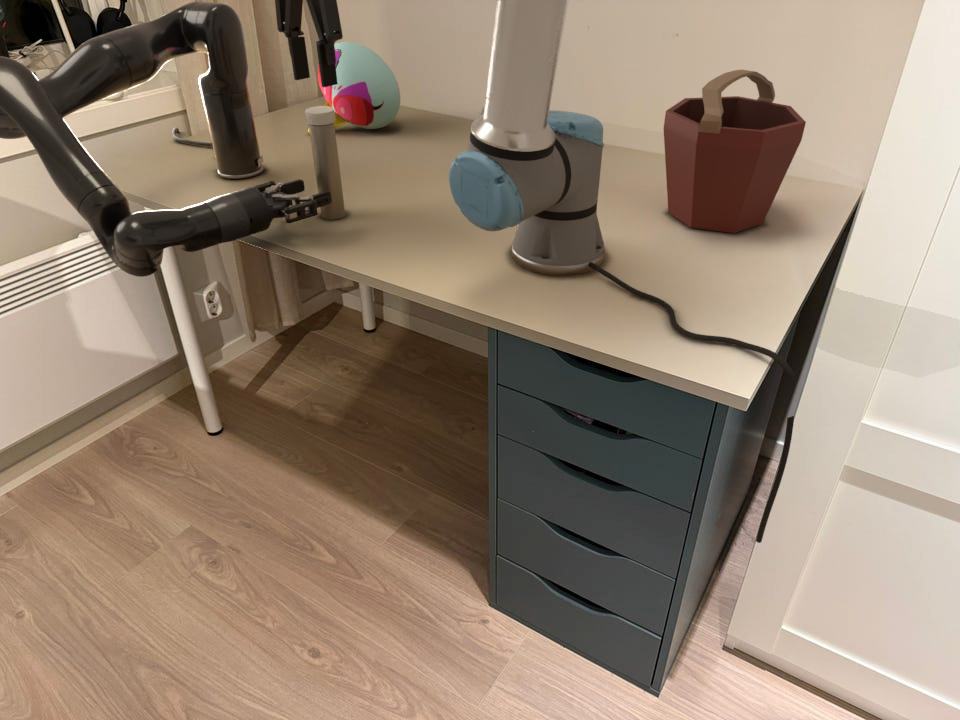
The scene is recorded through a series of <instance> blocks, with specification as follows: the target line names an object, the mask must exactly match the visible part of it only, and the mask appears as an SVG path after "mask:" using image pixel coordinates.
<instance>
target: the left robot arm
mask: <svg viewBox="0 0 960 720" xmlns="http://www.w3.org/2000/svg"><path fill="white" fill-rule="evenodd" d="M239 17H240V16H239V15H238V14H237V12H236V11H235V10H234V8H233V7H231V6H229V5H228V4H225V3H220V2H214V1H213V2H212V1H200V0H197V1H196V0H195V1H191V2H188V3H185V4H184V5H182V6H179V7H178V8H175V9H173V10H171V11H170V12H168V13H166V14H163V15H162V16H160V17H158V18H156V19H152V20H150V21H146V22H141V23H137V24H133V25H130V26H126V27H123V28H119V29H115V30H112V31H109V32H106V33H103V34H100V35H97V36H95V37H91V38H90V39H88V40H86V41H84V42H83V43H81V44H80V45H79V46H77V48H76V49H74V50H73V51H72V52H71V53H70V54H69V55H68V56H67V57H66V58H65V59H64V60H63V61H62V62H61V63H60V64H59V65H58V66H57V67H56V68H54V69H53V71H52V72H50V73H49V74H47V75H45V76H44V77H42V78H40V79H39V78H38V77H37V76H36V74H34V72H33V70H31V69H30V68H28V67H27V65H25V64H23V63H22V62H20V61H17V60H16V59H14V58H11V57H7V56H2V55H0V139H5V140H17V139H23V138H27V139H28V141H29V142H30V144H31V145H32V147H33V149H34V150H35V152H36V153H37V155H38V157H39V159H40V160H41V163H42V164H43V166H44V168H45V170H46V172H47V173H48V175H49V177H50V178H51V180H52V182H53V183H54V185H55V186H56V188H57V190H59V192H60V193H61V194H62V196H63V197H64V199H66V201H67V202H68V203H69V205H71V206H72V207H73V208H74V209H75V211H76V212H77V213H78V214H79V215H80V217H81V218H83V219H84V220H85V221H86V222H87V224H88V226H89V227H90V228H91V230H92V232H93V234H94V236H95V237H96V238H97V240H98V242H99V244H100V245H101V247H102V248H103V249H104V251H105V253H106V254H107V256H108V257H109V258H110V260H111V261H112V262H113V263H114V264H115V265H116V266H117V268H119V269H120V270H121V271H123V272H124V273H126V274H128V275H131V276H134V277H139V278H140V277H141V278H142V277H148V276H151V275H153V274H155V273H156V272H157V271H158V270H159V269H160V267H161V265H162V262H163V258H164V250H165V249H167V248H170V247H176V246H178V247H179V248H180V249H181V250H182V251H184V252H187V253H193V252H198V251H202V250H205V249H208V248H211V247H214V246H217V245H220V244H224V243H230V242H233V241H234V242H235V241H237V240H240V239H243V238H245V237H249V236H252V235H255V234H258V233H261V232H264V231H267V230H268V229H269V228H270V227H271V224H272V222H273V220H274V219H283V218H284V219H285V223H286V224H294V223H297V222H300V221H304V220H307V219H310V218H312V217H317V216H318V215H319V211H318V209H319V208H320V207H322V206H325V205H328V204H331V202H332V199H331V193H330V192H328V191H325V192H322V193H318V192H317V193H316V194H312V195H310V196H300V195H299V193H304V191H305V189H306V188H305V182H304V180H303V179H300V178H298V179H295V180H292V181H288V182H278V183H276V181H274V180H270V181H267V182H264V183H260V184H257V185H254V186H251V187H246V188H243V189H239V190H235V191H232V192H229V193H225V194H222V195H217V196H215V197H212V198H210V199H208V200H205V201H203V202H200V203H197V204H192V205H190V206H186V207H183V208H180V209H155V210H151V209H150V210H140V211H136V212H132V211H131V207H130V203H129V200H128V199H127V196H126V195H125V194H124V192H123V191H122V190H121V188H120V187H118V185H117V184H116V183H115V182H114V181H113V180H112V178H111V177H110V176H109V175H108V174H107V173H106V172H105V171H104V170H103V168H102V167H101V166H100V165H99V164H98V163H97V162H96V161H95V159H94V158H93V157H92V156H91V154H90V153H89V152H88V151H87V149H86V148H85V147H84V146H83V144H82V143H81V142H80V140H79V139H78V138H77V136H76V135H75V134H74V132H73V131H72V129H71V128H70V126H69V125H68V123H67V122H66V120H65V119H64V118H65V117H67V116H69V115H71V114H73V113H74V112H77V111H79V110H81V109H84V108H86V107H89V106H90V105H93V104H95V103H98V102H100V101H102V100H105V99H107V98H109V97H111V96H114V95H116V94H120V93H122V92H126V91H128V90H131V89H133V88H136V87H137V86H141V85H142V84H145V83H146V82H148V81H150V80H152V79H153V78H154V77H155V76H156V75H157V74H158V73H159V71H160V70H161V69H162V68H163V66H164V65H165V64H167V63H168V62H169V61H172V60H174V59H176V58H180V57H183V56H186V55H191V54H200V53H201V54H207V56H208V66H209V68H208V70H207V71H206V72H204V73H202V74H200V75H199V77H198V85H199V91H200V94H201V99H202V104H203V108H204V112H205V116H206V117H205V118H206V122H207V126H208V131H209V135H210V140H211V142H210V141H209V142H207V141H198V140H194V139H187V138H181V137H178V136H177V134H178V133H180V130H179V128H178V127H176V126H175V127H174V128H172V131H171V136H172V139H174V141H176V142H179V143H183V144H184V143H185V144H191V145H195V146H203V147H212V148H213V152H214V158H215V162H216V167H217V174H218V176H219V177H221V178H223V179H224V178H225V179H229V180H231V179H232V180H234V179H236V180H237V179H238V180H239V179H246V178H252V177H254V176H257V175H260V174H261V173H262V172H263V171H264V165H263V163H264V161H265V160H264V157H263V156H264V155H261V151H260V146H259V141H258V135H257V131H256V125H255V120H254V114H253V109H252V103H251V97H250V93H249V92H250V91H249V87H248V82H247V81H248V75H249V65H248V64H249V63H248V56H247V49H246V41H245V34H244V29H243V25H242V22H241V20H240V18H239ZM293 202H294V203H293Z"/></svg>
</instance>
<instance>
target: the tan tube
mask: <svg viewBox="0 0 960 720" xmlns="http://www.w3.org/2000/svg"><path fill="white" fill-rule="evenodd" d="M307 124H308V123H307ZM308 130H309V132H310V133H309V132H308V133H309V138H310V146H311V152H312V159H313V166H314V167H313V168H314V172H315V173H314V174H315V182H316V188H317V194H318V193H322V192H325V191H328V192H330V193H331V199H332V202H331V204H328V205H325V206H322V207H319V208H320V216H321V218H322V219H324V220H329V221H333V220H339V219H342V218H344V217H345V216H346V209H345V199H344V193H343V185H342V183H343V182H342V177H341V167H340V161H339V153H338V144H337V135H336V128H335V126H334V122H333V123H331V124H328V125H310V124H308Z"/></svg>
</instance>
